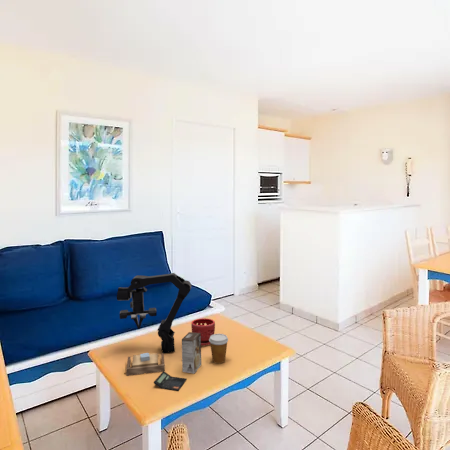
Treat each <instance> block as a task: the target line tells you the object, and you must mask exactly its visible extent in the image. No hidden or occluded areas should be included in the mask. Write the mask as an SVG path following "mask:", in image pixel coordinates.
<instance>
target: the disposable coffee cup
mask: <svg viewBox="0 0 450 450" xmlns="http://www.w3.org/2000/svg"><path fill="white" fill-rule="evenodd" d="M209 341H210V344H209V345H210V351H211V357H212V362H213V363H214V364H223V363H225V362H226V356H227V347H228V342H229V338H228V336H227V334H224V333H214V334H213V335H211V336H210V339H209Z"/></svg>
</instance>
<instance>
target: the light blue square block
mask: <svg viewBox="0 0 450 450" xmlns="http://www.w3.org/2000/svg"><path fill="white" fill-rule="evenodd" d="M149 354H150V353H149V352H145V353H140V354H139V355H140V358H141V362H142V361H148V360H150V356H149Z"/></svg>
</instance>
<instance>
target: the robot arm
mask: <svg viewBox="0 0 450 450" xmlns="http://www.w3.org/2000/svg"><path fill="white" fill-rule="evenodd" d="M165 283H172V285H174V286H175V287H176V288H177V289H178V292H177V295H176V299H175V300H174V302H173V305H172V306H171V309H170V311H169V313H168V315H167V317H166V318H165V319H162V320H161V321H160V324H159V326H158V328H157V336H158V337H159V338H160V339H161V341H160V349H161V351H162V352H161V353H164V354H170V353H175V352H176V348H175V336H174V335H175V333H176V332H175V331H174V330H173V329H172V325H173V323H174V319H175V317H176V315H177V314H178V311H179V310H180V307H181V305H182V303H183V301H184V300H185V298H186V297H187V296H188V295H189V294H190V292H191V289H192V283H191V282H190V281H189V280H186V279H184V278H183V277H181V276H179V275H177V274H176V273H175V272H171V273H165V274H157V275H150V276H148V275H135V276H134V277H133V278H132V279H131V281H130V285H129V286H128V287H127V286H126V287H122V286H120V287H118V288H117V293H116V299H117V301H120V302H121V301H130V299H131V301H130V303H129V306H130V308H131V309H132V311H129V310H128V309H121V310H120V311H119V320H121V319H122V320H123V319H127V318H128V317H129V316H130V317H131V318H130V319H131V320H133V322H134V323H135V326H136V328H137V329H138V330H140V329H141V327H142V326H141V325H142V323H143V321H144V319H146V315H148V316H150V317H156V316H157V315H158V312H157V308H156V307H149V308H148V310H147V309H146V310H145V304H144V300H145V299H144V293H146V292H147V291H148V289H147V288H146V287H147V286H150V285H156V284H165ZM138 316H139V317H138Z"/></svg>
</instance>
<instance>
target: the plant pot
mask: <svg viewBox="0 0 450 450" xmlns="http://www.w3.org/2000/svg"><path fill="white" fill-rule="evenodd" d="M190 325H191V332H194V333H201V347H204V346H205V347H206V346H209V345H210V341H209V339H210V336H211V335H213V334H215V331H216V322H215V320H214V319H211V318H206V317H205V318H204V317H203V318H197V319H194V320H192V321H191V323H190Z"/></svg>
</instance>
